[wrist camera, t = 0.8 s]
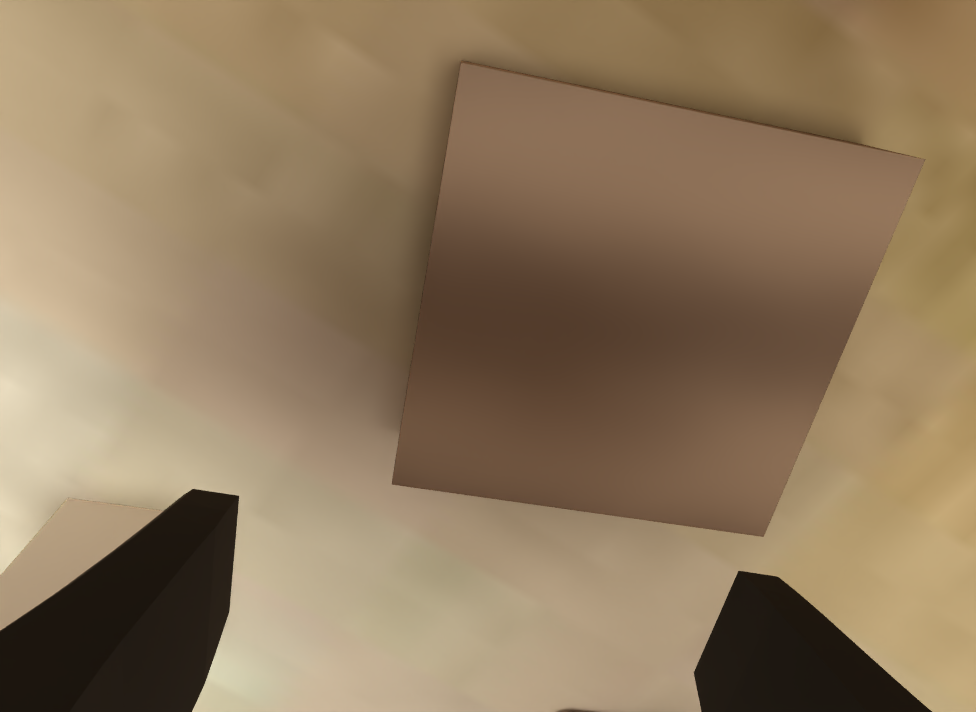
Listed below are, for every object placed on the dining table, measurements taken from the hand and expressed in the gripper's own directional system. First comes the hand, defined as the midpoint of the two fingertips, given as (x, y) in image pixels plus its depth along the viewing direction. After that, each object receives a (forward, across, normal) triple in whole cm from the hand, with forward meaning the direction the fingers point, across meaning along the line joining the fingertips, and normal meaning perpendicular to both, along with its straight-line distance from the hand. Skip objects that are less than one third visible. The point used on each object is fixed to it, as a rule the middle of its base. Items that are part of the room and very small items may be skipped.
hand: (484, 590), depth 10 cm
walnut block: (+10, -4, -2) cm, 11 cm away
